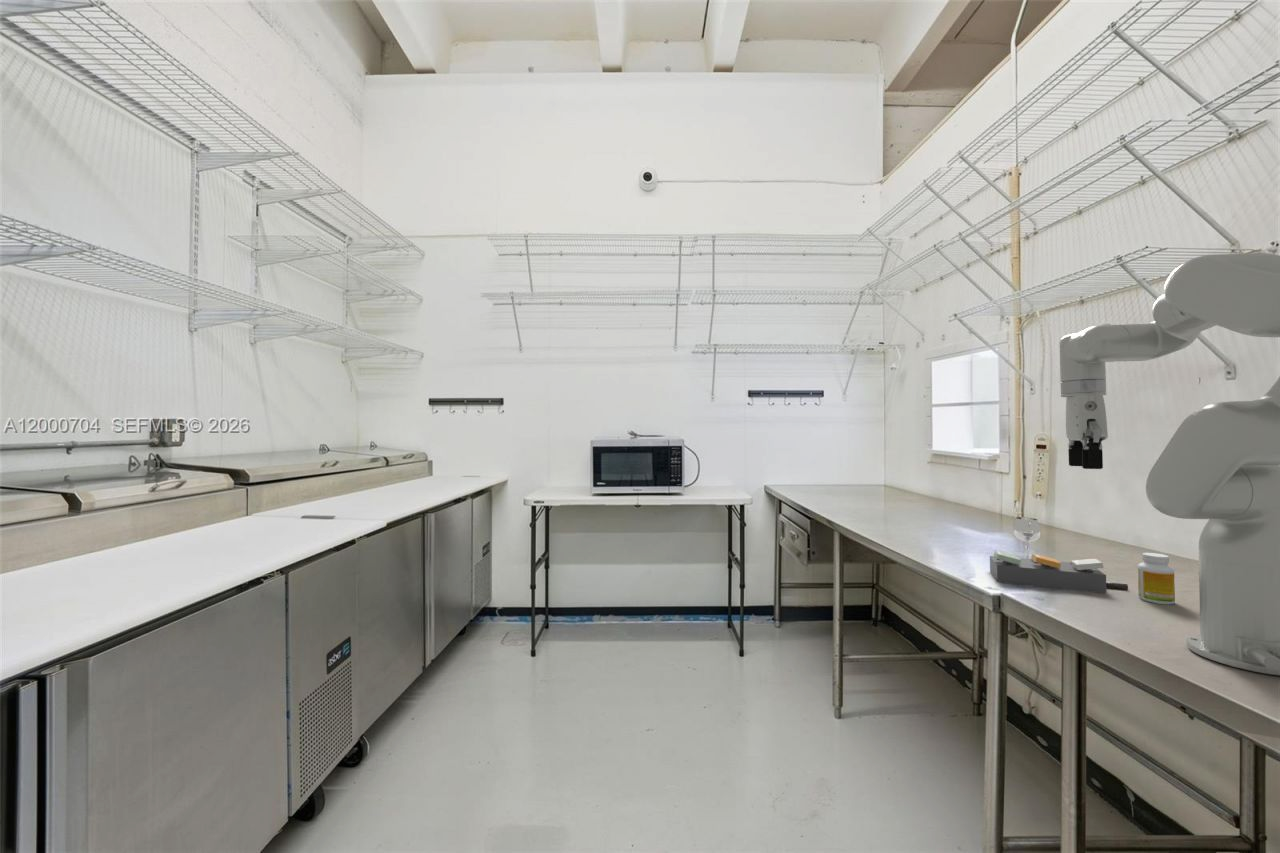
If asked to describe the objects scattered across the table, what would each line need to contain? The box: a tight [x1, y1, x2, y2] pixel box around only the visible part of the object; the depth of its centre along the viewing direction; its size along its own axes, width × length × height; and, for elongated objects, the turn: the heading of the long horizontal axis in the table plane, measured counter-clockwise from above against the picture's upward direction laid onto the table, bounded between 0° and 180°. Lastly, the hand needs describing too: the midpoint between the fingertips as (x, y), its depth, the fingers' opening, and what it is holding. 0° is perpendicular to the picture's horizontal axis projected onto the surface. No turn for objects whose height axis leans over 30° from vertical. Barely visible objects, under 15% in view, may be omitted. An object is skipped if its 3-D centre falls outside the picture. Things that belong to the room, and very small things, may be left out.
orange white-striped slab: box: [1030, 553, 1061, 568], centre depth 119 cm, size 4×5×1 cm
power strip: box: [989, 555, 1129, 594], centre depth 119 cm, size 10×25×4 cm, turn 63°
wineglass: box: [1013, 516, 1041, 559], centre depth 137 cm, size 6×6×12 cm
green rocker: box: [993, 550, 1021, 565], centre depth 122 cm, size 4×5×1 cm
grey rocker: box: [1070, 558, 1104, 570], centre depth 115 cm, size 4×5×1 cm
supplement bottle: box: [1137, 552, 1176, 605], centre depth 106 cm, size 5×5×10 cm
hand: (1085, 467), depth 110 cm, fingers open, 9 cm apart
